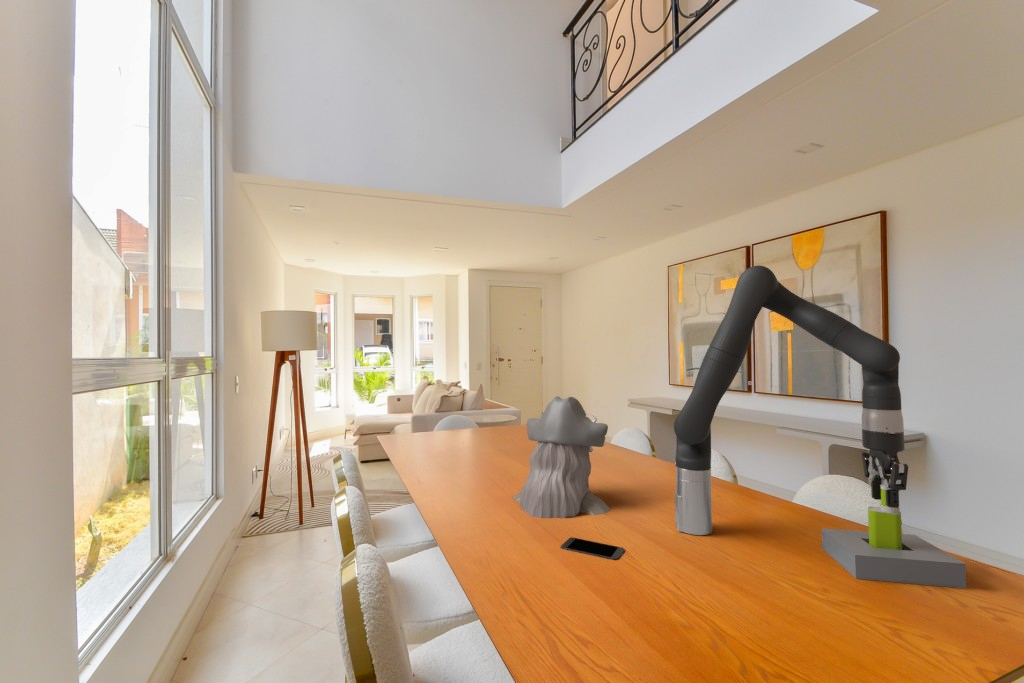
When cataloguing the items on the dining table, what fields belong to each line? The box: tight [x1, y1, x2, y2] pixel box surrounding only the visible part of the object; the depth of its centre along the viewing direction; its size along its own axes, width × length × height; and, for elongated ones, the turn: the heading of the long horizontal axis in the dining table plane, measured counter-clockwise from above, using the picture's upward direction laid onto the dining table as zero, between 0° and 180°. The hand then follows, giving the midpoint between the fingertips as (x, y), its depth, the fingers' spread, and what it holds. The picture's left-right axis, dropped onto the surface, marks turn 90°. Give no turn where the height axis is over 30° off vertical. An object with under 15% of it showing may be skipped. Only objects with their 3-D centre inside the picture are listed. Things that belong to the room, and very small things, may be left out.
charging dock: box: [821, 528, 967, 589], centre depth 103 cm, size 20×16×5 cm
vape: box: [867, 480, 903, 550], centre depth 104 cm, size 4×6×20 cm, turn 58°
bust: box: [512, 395, 611, 519], centre depth 152 cm, size 34×34×35 cm
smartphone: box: [560, 536, 626, 561], centre depth 113 cm, size 7×15×1 cm, turn 60°
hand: (885, 502), depth 104 cm, fingers open, 5 cm apart
